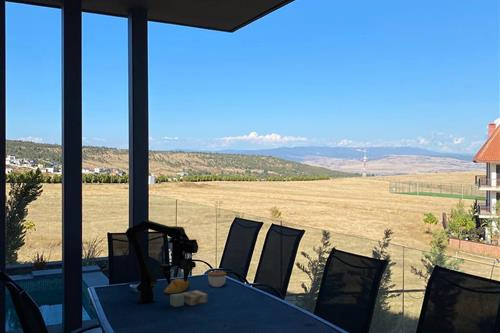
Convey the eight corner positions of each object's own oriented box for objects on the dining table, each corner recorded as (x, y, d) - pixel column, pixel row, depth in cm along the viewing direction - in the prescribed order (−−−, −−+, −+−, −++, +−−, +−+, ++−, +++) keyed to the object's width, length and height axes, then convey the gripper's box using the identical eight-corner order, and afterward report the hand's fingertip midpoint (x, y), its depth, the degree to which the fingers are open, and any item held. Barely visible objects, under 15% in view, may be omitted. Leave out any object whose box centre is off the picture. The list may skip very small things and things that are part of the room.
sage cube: (175, 307, 231) (175, 297, 231) (170, 304, 235) (170, 294, 235) (183, 305, 234) (183, 295, 234) (178, 303, 238) (178, 293, 238)
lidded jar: (207, 284, 278) (207, 268, 278) (224, 283, 280) (225, 267, 280) (208, 288, 267) (208, 272, 268) (227, 287, 269) (227, 271, 269)
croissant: (168, 302, 252) (174, 290, 250) (156, 291, 256) (161, 279, 254) (192, 292, 270) (197, 281, 268) (180, 282, 275) (185, 271, 273)
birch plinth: (190, 305, 234) (190, 297, 234) (180, 300, 241) (180, 293, 241) (207, 302, 240) (207, 294, 240) (197, 297, 248) (197, 290, 248)
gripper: (169, 256, 223) (168, 289, 223) (201, 252, 235) (201, 283, 234) (158, 253, 231) (157, 284, 231) (190, 249, 243) (189, 279, 243)
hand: (177, 283), depth 235 cm, fingers open, 9 cm apart
